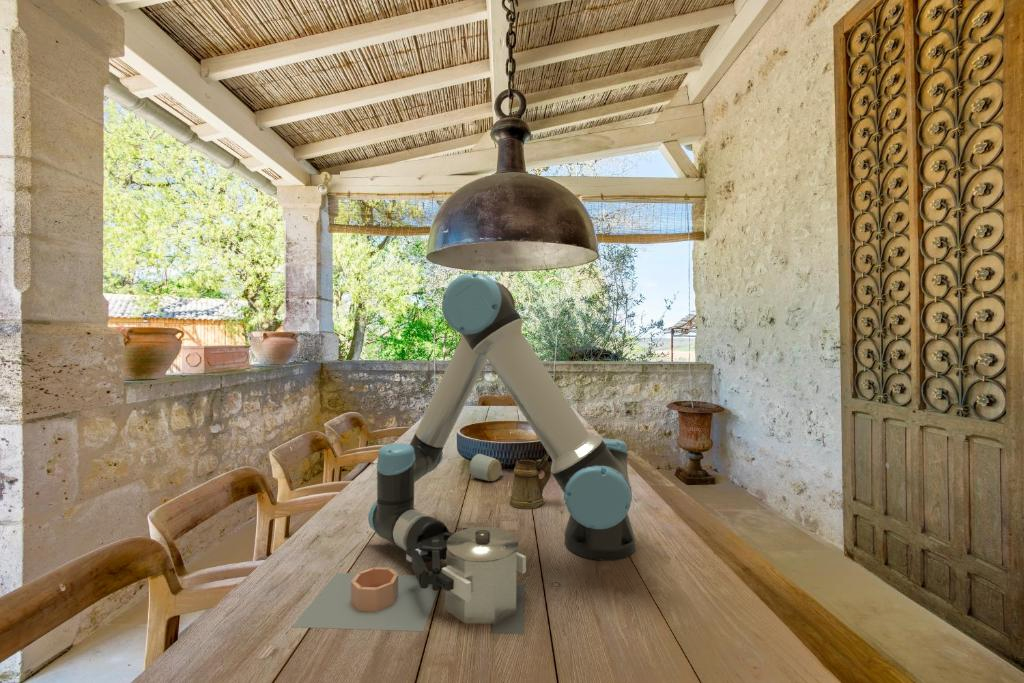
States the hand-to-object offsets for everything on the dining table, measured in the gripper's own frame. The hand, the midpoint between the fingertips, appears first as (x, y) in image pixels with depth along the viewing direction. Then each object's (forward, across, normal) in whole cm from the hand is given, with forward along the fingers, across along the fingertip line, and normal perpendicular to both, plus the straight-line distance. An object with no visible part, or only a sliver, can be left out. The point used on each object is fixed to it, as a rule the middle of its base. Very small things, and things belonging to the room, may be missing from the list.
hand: (498, 577), depth 73 cm
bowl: (-17, +12, -6) cm, 22 cm away
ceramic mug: (-57, -48, -7) cm, 75 cm away
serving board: (-17, +12, -6) cm, 22 cm away
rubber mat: (-4, 0, -6) cm, 8 cm away
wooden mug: (-31, -42, -7) cm, 52 cm away
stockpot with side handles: (-4, 0, -6) cm, 7 cm away
